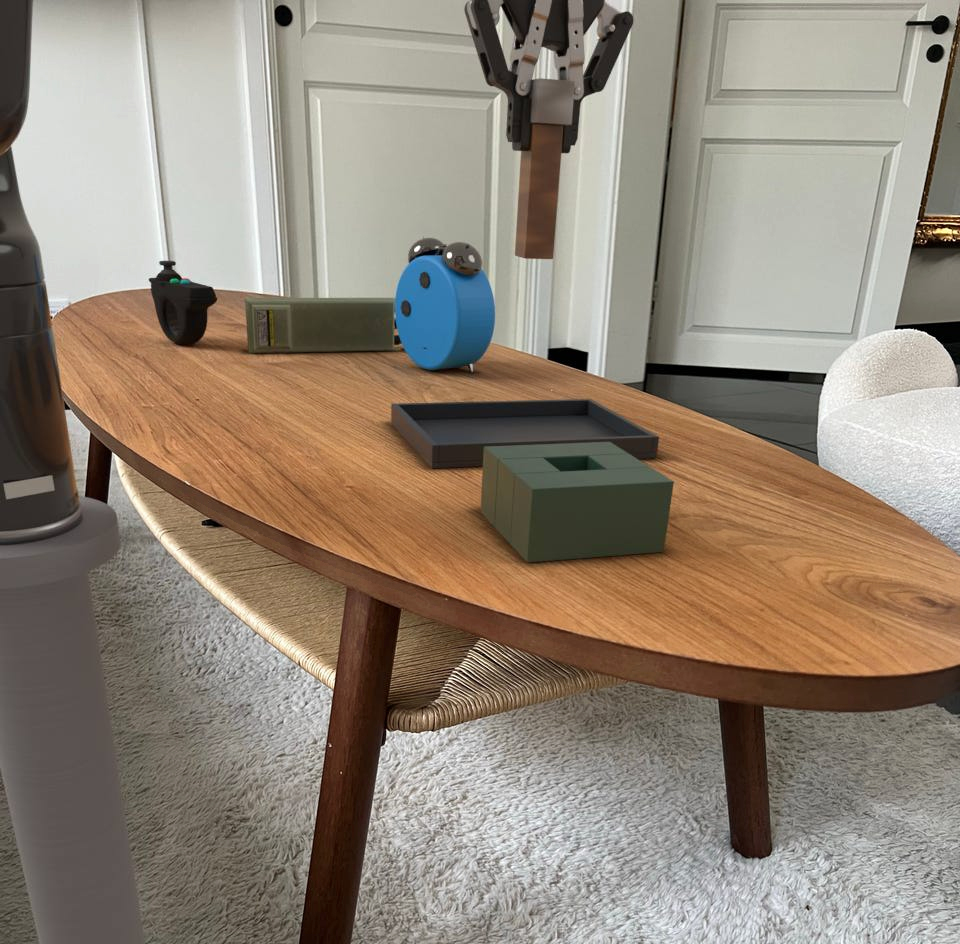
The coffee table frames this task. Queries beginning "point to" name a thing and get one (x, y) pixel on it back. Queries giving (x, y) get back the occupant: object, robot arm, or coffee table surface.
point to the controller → (181, 305)
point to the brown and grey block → (542, 168)
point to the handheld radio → (320, 324)
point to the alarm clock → (444, 305)
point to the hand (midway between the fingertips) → (540, 150)
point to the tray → (512, 428)
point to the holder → (574, 500)
